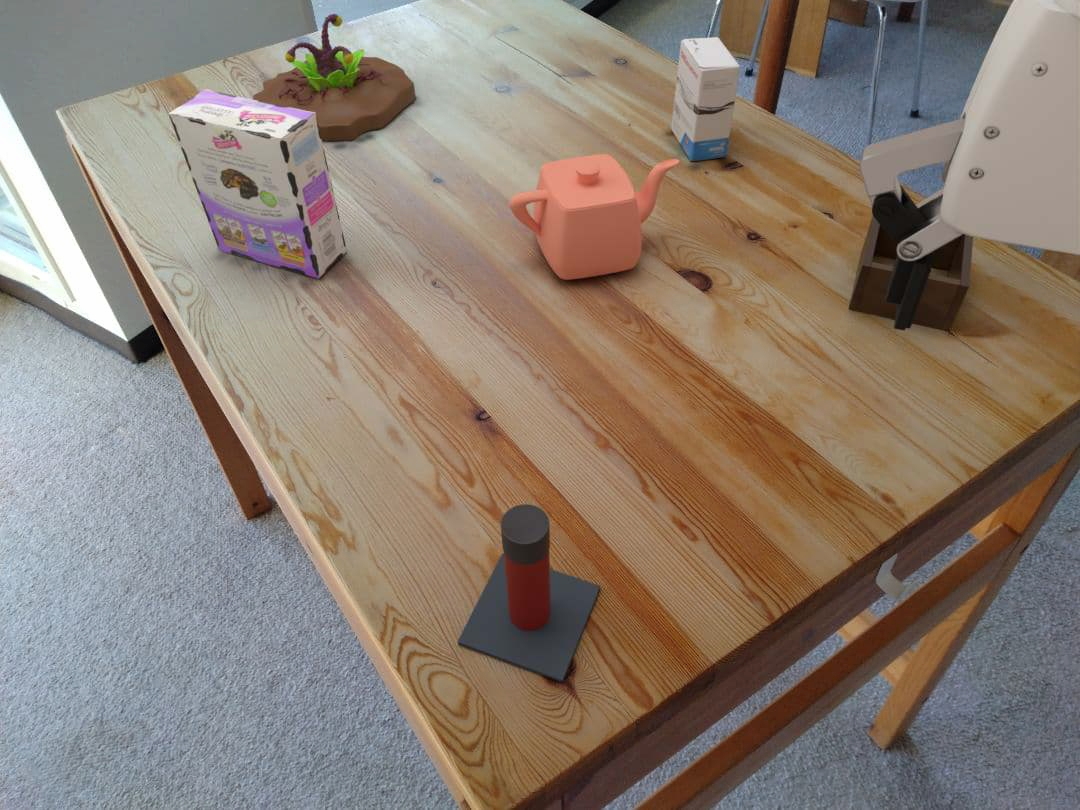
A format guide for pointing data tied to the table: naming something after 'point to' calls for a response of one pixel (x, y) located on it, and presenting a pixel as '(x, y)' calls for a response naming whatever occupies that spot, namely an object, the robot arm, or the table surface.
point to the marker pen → (527, 565)
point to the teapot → (589, 214)
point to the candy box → (262, 180)
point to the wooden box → (939, 291)
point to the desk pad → (536, 648)
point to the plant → (340, 88)
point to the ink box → (704, 98)
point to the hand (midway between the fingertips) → (1006, 332)
